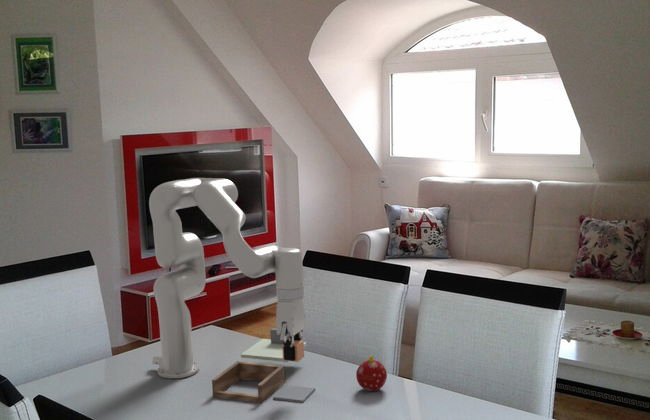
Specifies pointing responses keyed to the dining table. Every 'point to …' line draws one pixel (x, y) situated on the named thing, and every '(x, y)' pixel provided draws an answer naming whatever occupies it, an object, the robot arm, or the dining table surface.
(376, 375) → the christmas ornament
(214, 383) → the board
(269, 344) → the lid
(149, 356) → the dining table surface
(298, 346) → the block
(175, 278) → the robot arm
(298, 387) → the pad
